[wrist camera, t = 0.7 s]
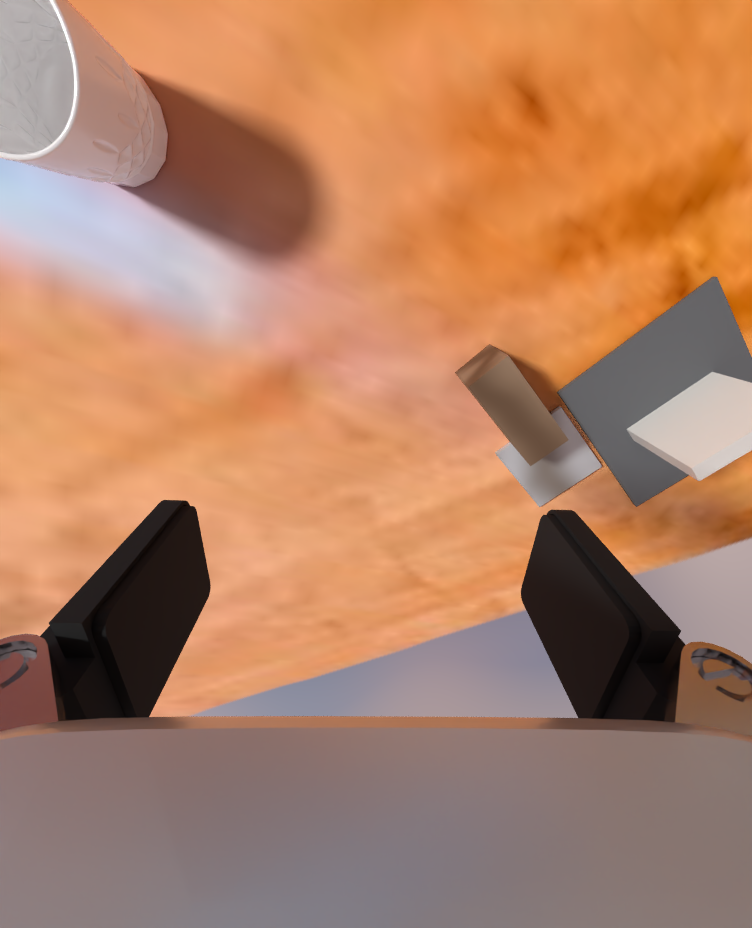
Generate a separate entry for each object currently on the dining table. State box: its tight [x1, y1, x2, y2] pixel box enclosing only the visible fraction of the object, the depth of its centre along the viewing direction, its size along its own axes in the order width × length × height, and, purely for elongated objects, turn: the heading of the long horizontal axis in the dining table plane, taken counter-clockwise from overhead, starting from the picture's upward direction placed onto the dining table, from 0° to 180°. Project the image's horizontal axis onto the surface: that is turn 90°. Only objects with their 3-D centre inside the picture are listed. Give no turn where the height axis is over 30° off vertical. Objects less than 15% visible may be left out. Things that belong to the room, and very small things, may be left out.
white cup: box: [0, 0, 168, 187], centre depth 21 cm, size 8×8×10 cm
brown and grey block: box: [455, 344, 602, 507], centre depth 34 cm, size 7×17×5 cm, turn 42°
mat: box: [557, 277, 752, 507], centre depth 35 cm, size 14×16×1 cm
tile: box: [627, 372, 752, 481], centre depth 31 cm, size 8×2×8 cm, turn 132°
